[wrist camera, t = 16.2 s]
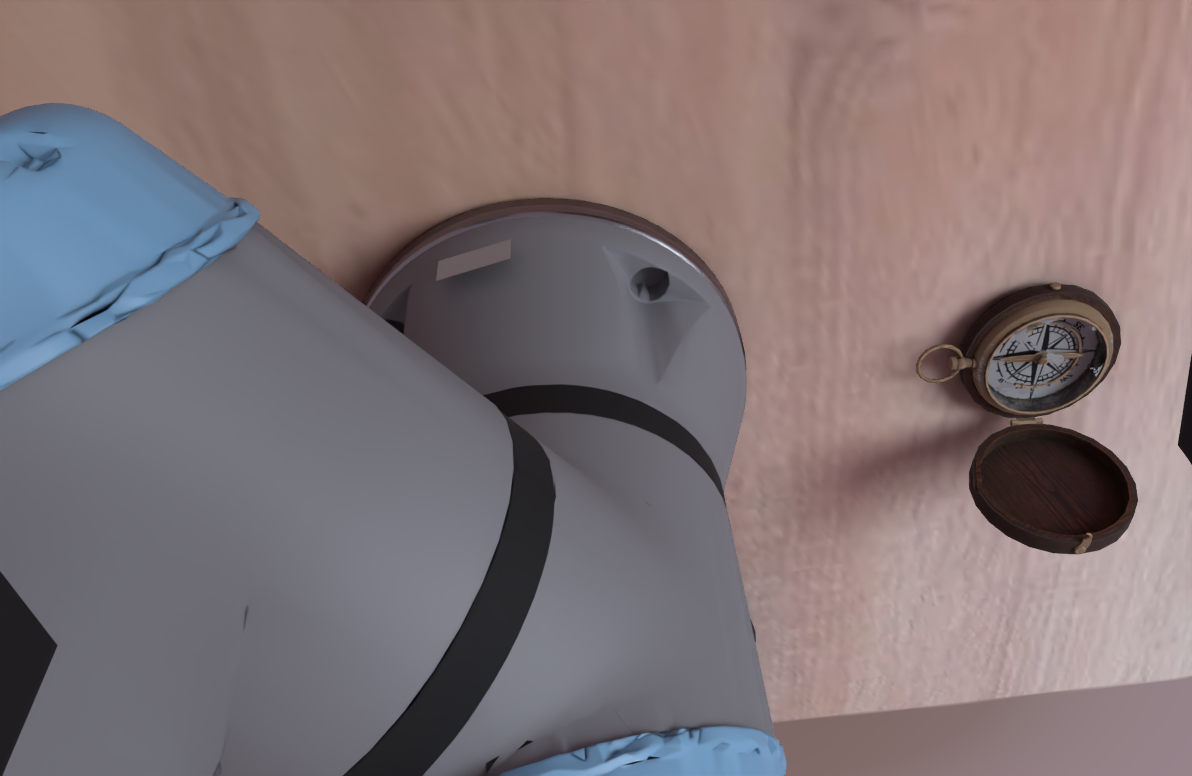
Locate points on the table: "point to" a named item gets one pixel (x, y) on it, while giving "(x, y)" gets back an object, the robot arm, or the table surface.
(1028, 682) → the table surface
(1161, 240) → the table surface
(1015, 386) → the compass
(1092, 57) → the table surface
